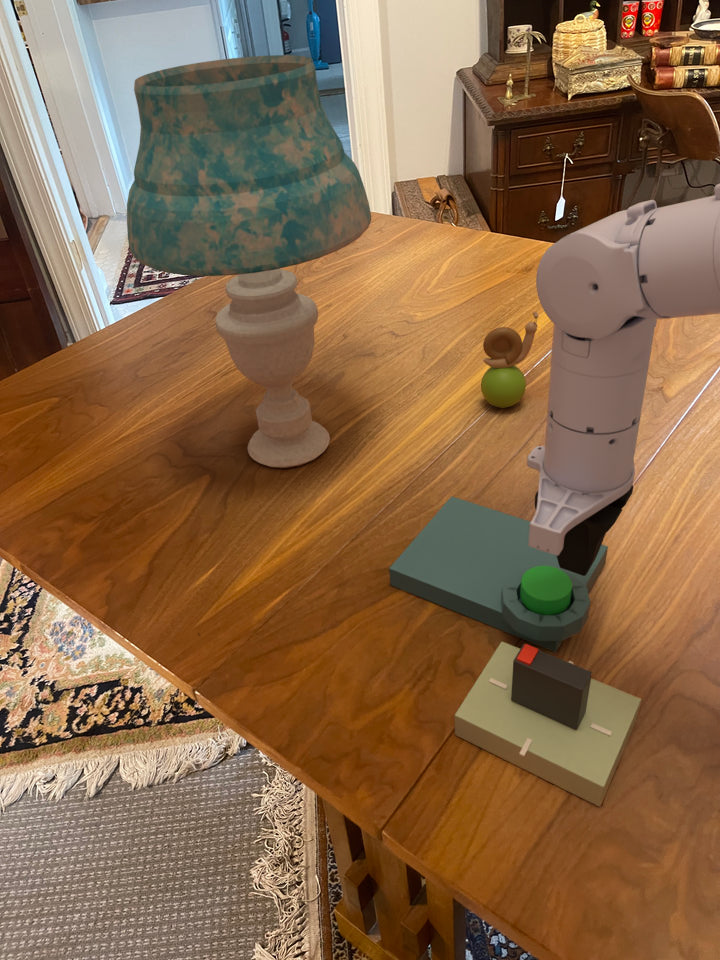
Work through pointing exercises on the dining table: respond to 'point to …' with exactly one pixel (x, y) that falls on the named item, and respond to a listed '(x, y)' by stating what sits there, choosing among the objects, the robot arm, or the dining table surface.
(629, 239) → the robot arm
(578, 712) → the dimmer knob
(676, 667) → the dining table surface
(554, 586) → the light button
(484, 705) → the dimmer panel
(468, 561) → the switch box
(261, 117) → the table lamp
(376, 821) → the dining table surface
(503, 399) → the snail figurine
